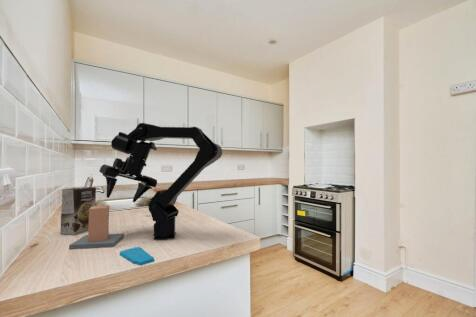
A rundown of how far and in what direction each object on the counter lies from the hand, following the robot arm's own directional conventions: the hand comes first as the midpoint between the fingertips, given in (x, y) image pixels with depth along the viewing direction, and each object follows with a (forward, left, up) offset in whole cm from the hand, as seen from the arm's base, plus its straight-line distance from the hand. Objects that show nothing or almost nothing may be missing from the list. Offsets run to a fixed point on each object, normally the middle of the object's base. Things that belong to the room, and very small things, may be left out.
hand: (121, 199), depth 80 cm
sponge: (-10, +20, -13) cm, 26 cm away
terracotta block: (+5, +6, -11) cm, 14 cm away
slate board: (+5, +6, -13) cm, 15 cm away
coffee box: (+18, -9, -13) cm, 24 cm away
